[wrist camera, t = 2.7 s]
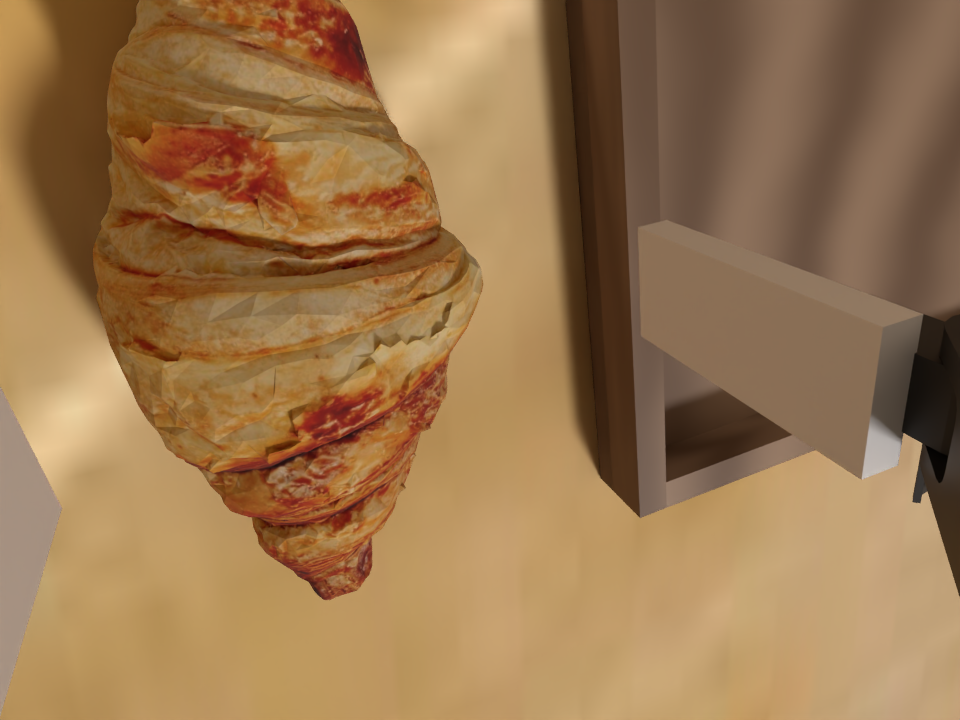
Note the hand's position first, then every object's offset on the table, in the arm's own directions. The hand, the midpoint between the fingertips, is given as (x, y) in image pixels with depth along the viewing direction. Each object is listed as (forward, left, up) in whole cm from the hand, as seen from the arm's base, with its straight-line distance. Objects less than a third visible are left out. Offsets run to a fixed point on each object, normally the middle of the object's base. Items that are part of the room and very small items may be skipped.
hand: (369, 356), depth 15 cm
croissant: (-1, 0, -9) cm, 9 cm away
